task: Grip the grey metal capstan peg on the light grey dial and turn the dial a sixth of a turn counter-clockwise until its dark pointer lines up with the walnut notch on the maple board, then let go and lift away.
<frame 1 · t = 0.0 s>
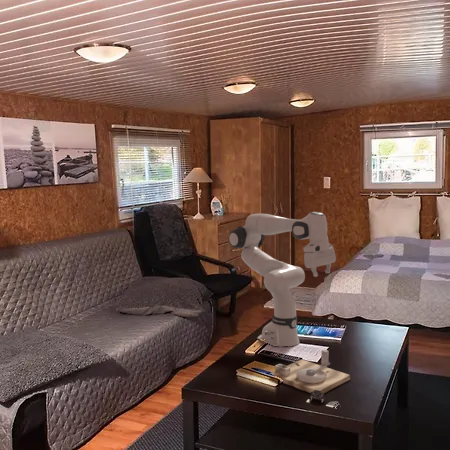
hand: (321, 274, 249), 39 cm above the table, fingers open, 8 cm apart
dial: (316, 364, 222), point 7 cm above the table, hinge at 0.0°
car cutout: (327, 404, 202), on the table
stand board: (309, 378, 225), on the table
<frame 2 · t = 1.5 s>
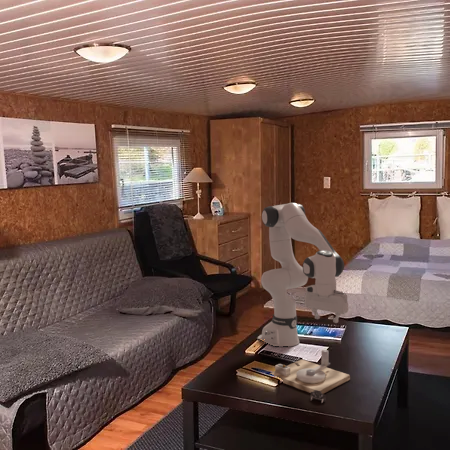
hand: (326, 320, 225), 25 cm above the table, fingers open, 8 cm apart
nothing on the table moved.
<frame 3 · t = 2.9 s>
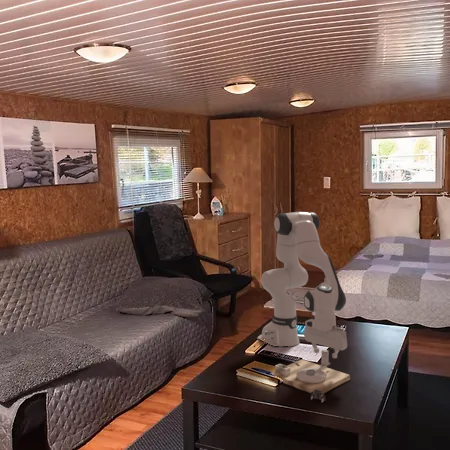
hand: (325, 355, 226), 9 cm above the table, fingers open, 8 cm apart
nothing on the table moved.
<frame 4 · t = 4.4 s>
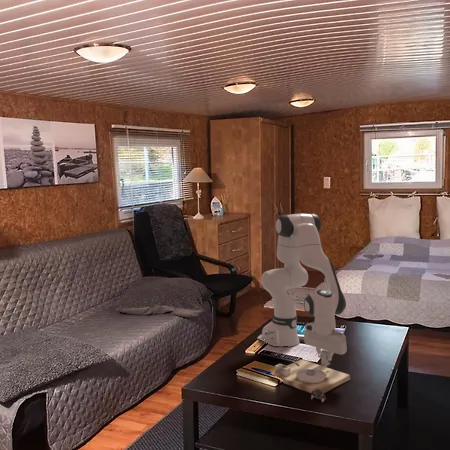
hand: (324, 358, 226), 8 cm above the table, fingers closed on dial, 3 cm apart
dial: (316, 364, 222), point 7 cm above the table, hinge at 0.0°, touching gripper
everything else where it was.
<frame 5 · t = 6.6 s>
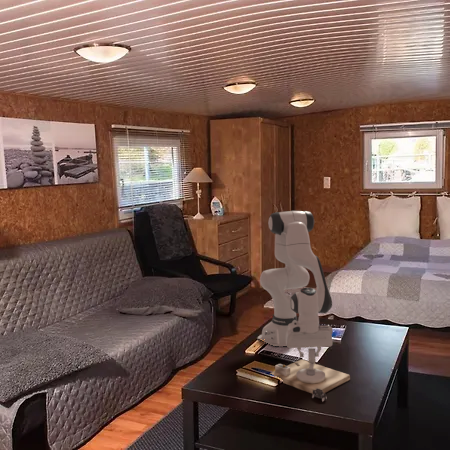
hand: (309, 356, 229), 8 cm above the table, fingers open, 5 cm apart
dial: (311, 364, 223), point 7 cm above the table, hinge at 34.6°, touching gripper
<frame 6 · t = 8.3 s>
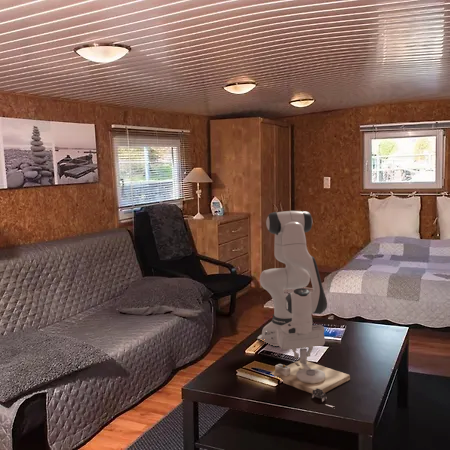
hand: (302, 356, 229), 8 cm above the table, fingers open, 4 cm apart
dial: (307, 364, 223), point 7 cm above the table, hinge at 55.9°, touching gripper
everything else where it was.
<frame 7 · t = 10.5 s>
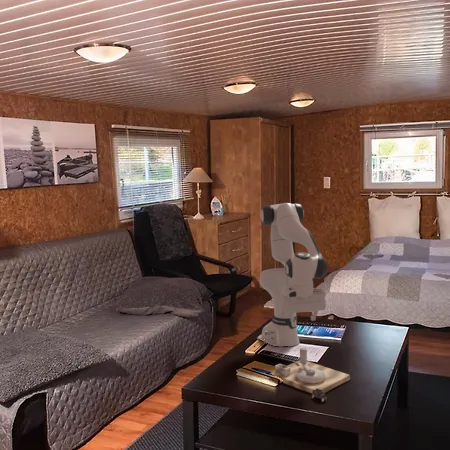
hand: (303, 321, 229), 23 cm above the table, fingers open, 8 cm apart
dial: (307, 364, 223), point 7 cm above the table, hinge at 56.0°
everything else where it was.
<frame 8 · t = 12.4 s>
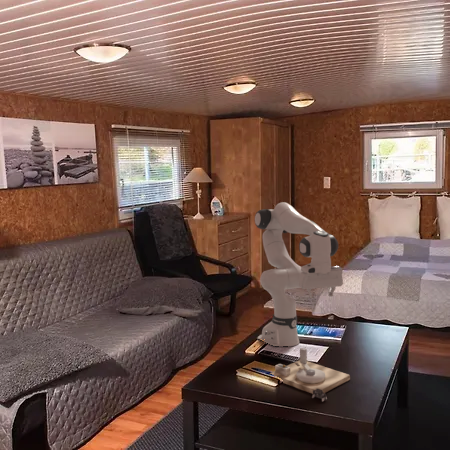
hand: (321, 297, 238), 31 cm above the table, fingers open, 8 cm apart
at the end: dial at +56° (first picture: +0°); the gripper is holding nothing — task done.
